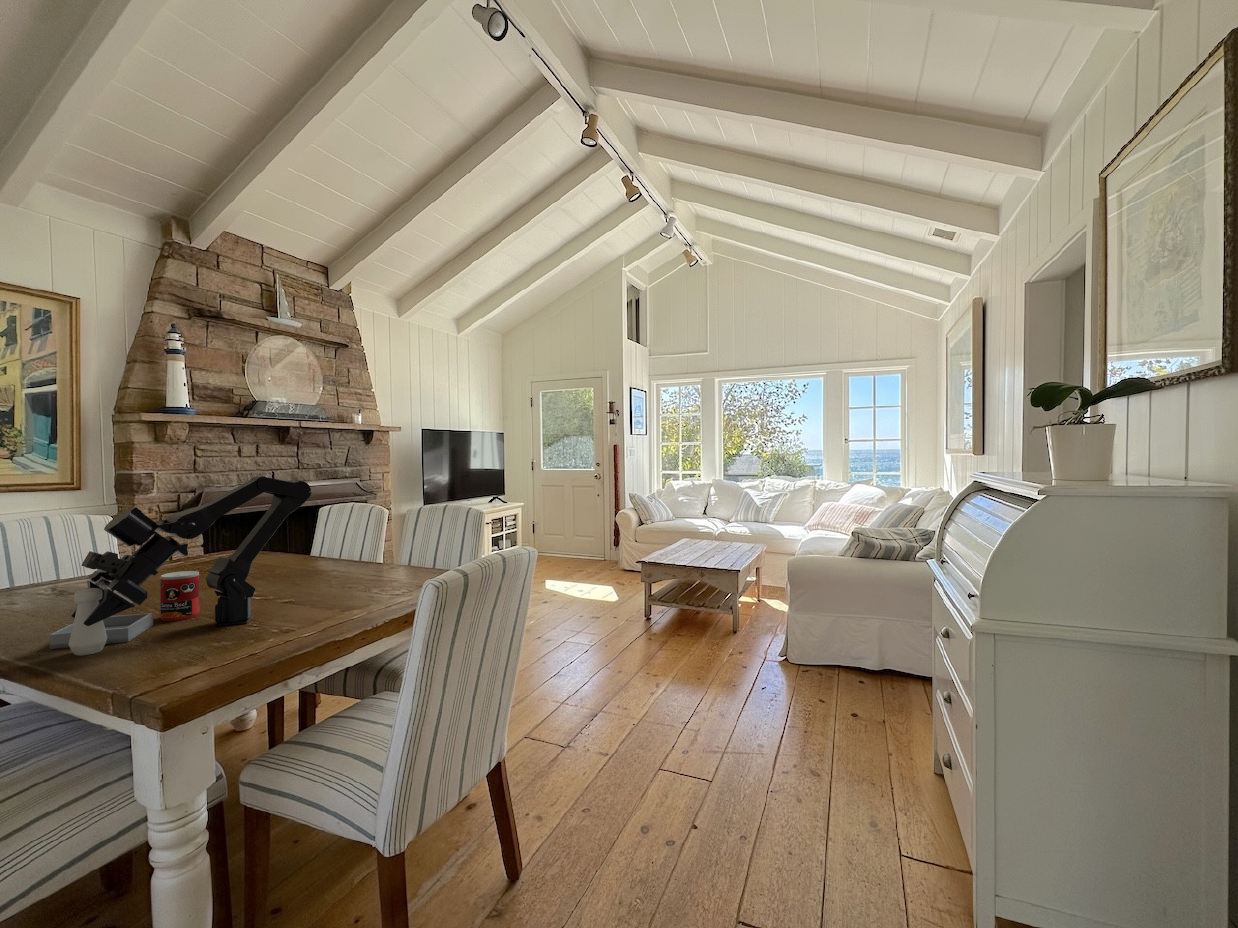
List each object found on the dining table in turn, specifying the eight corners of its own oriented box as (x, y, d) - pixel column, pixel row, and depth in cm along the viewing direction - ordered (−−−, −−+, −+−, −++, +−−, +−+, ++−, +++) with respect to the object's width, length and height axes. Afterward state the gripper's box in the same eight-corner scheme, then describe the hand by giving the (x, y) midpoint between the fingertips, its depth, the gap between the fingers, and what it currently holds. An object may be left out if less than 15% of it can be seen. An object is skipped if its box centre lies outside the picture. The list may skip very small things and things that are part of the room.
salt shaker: (83, 657, 112) (83, 593, 112) (60, 656, 113) (60, 591, 113) (114, 648, 118) (114, 586, 118) (93, 646, 119) (93, 585, 119)
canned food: (153, 622, 137) (153, 577, 137) (171, 613, 145) (171, 571, 145) (189, 620, 139) (189, 576, 139) (205, 612, 147) (205, 570, 147)
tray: (153, 625, 135) (153, 612, 135) (128, 641, 122) (128, 627, 122) (83, 631, 130) (82, 618, 130) (49, 649, 118) (49, 634, 118)
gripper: (100, 533, 124) (29, 592, 115) (127, 540, 113) (51, 605, 104) (145, 563, 131) (81, 622, 122) (175, 572, 120) (106, 637, 111)
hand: (79, 621), depth 114 cm, fingers open, 9 cm apart
